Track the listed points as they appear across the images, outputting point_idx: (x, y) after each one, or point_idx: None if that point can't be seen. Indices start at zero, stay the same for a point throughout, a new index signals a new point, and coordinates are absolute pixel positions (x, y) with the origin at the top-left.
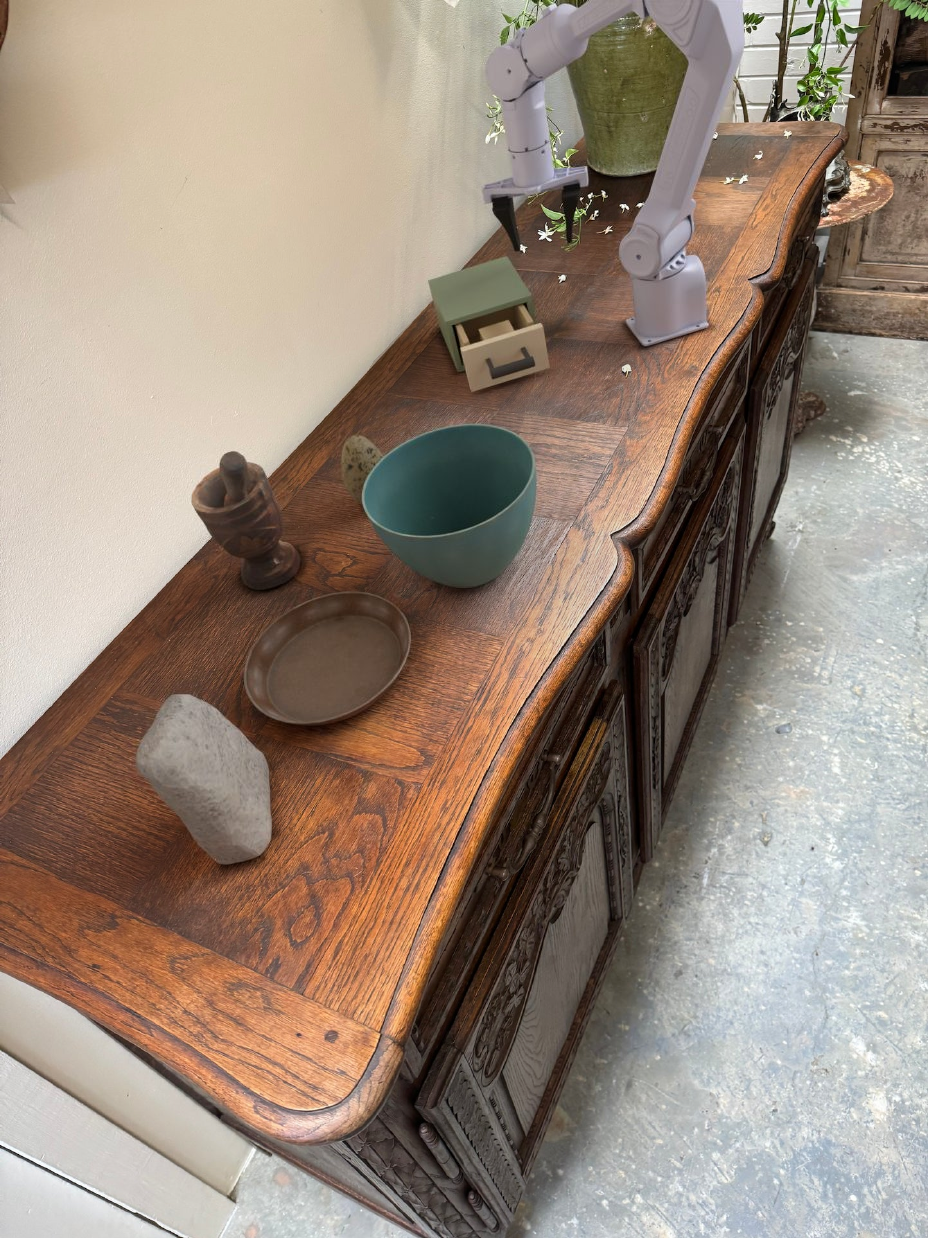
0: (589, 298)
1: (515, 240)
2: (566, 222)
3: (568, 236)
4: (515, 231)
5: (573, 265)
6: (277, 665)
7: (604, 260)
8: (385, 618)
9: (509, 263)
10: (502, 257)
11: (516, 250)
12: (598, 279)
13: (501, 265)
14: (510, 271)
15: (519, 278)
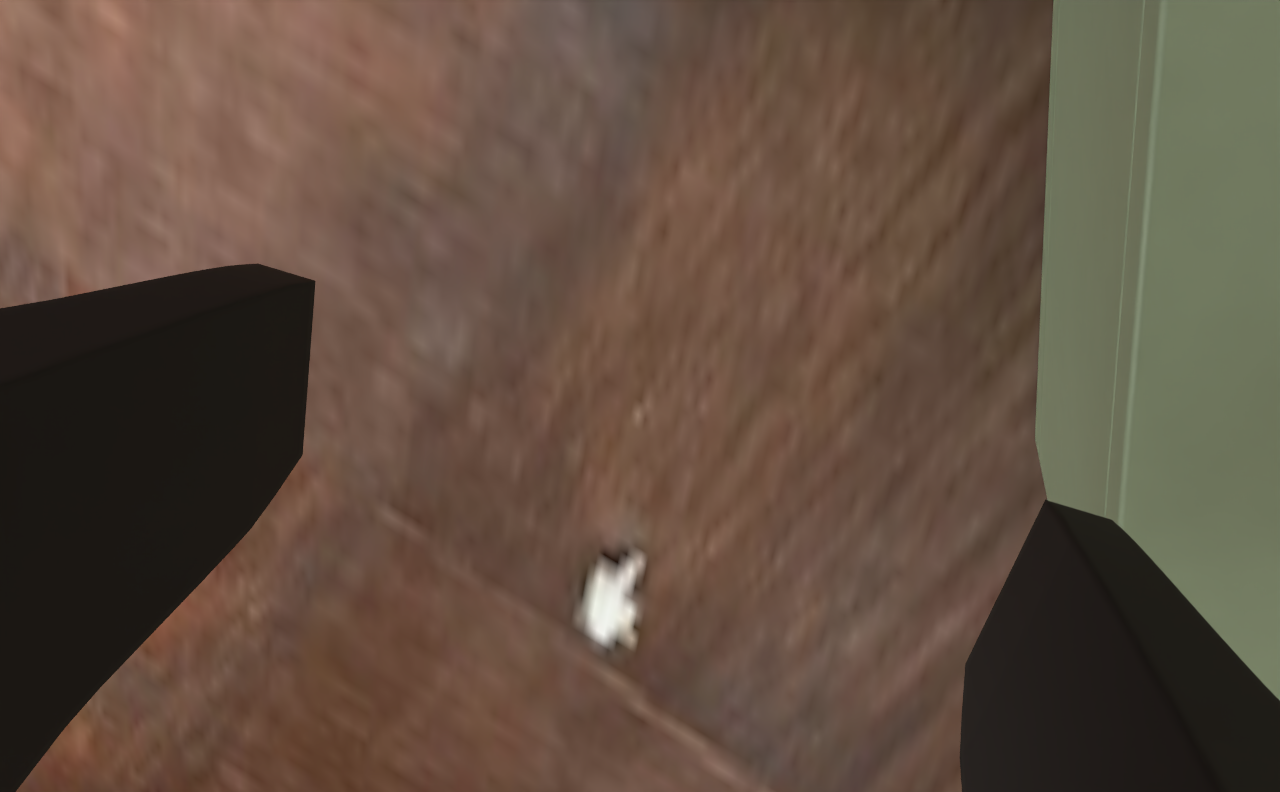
0: (465, 218)
1: (1123, 591)
2: (54, 353)
3: (224, 282)
4: (1082, 759)
5: (514, 706)
6: None
7: (322, 645)
8: None
9: None
10: None
11: (1094, 516)
12: (377, 446)
13: (1261, 573)
14: (1220, 341)
15: (1186, 29)
